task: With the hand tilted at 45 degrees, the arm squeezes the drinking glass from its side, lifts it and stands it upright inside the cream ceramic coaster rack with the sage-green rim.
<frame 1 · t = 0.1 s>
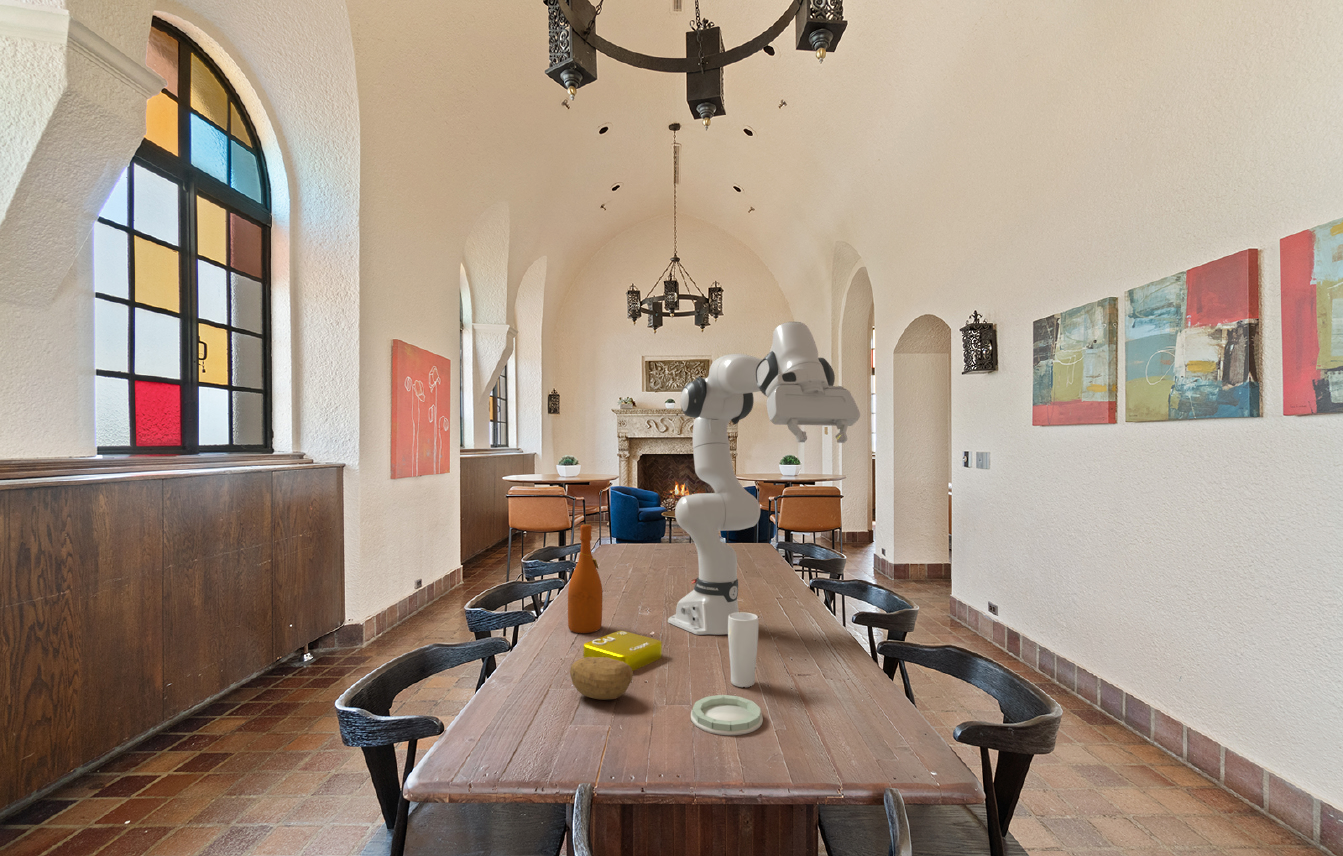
hand: (822, 441, 125), 54 cm above the table, tool tilted 30°, fingers open, 8 cm apart
element tile: (622, 660, 152), on the table
wine bottle: (584, 629, 175), on the table
drinking glass: (742, 684, 136), on the table
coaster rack: (726, 718, 119), on the table
potato: (600, 698, 128), on the table
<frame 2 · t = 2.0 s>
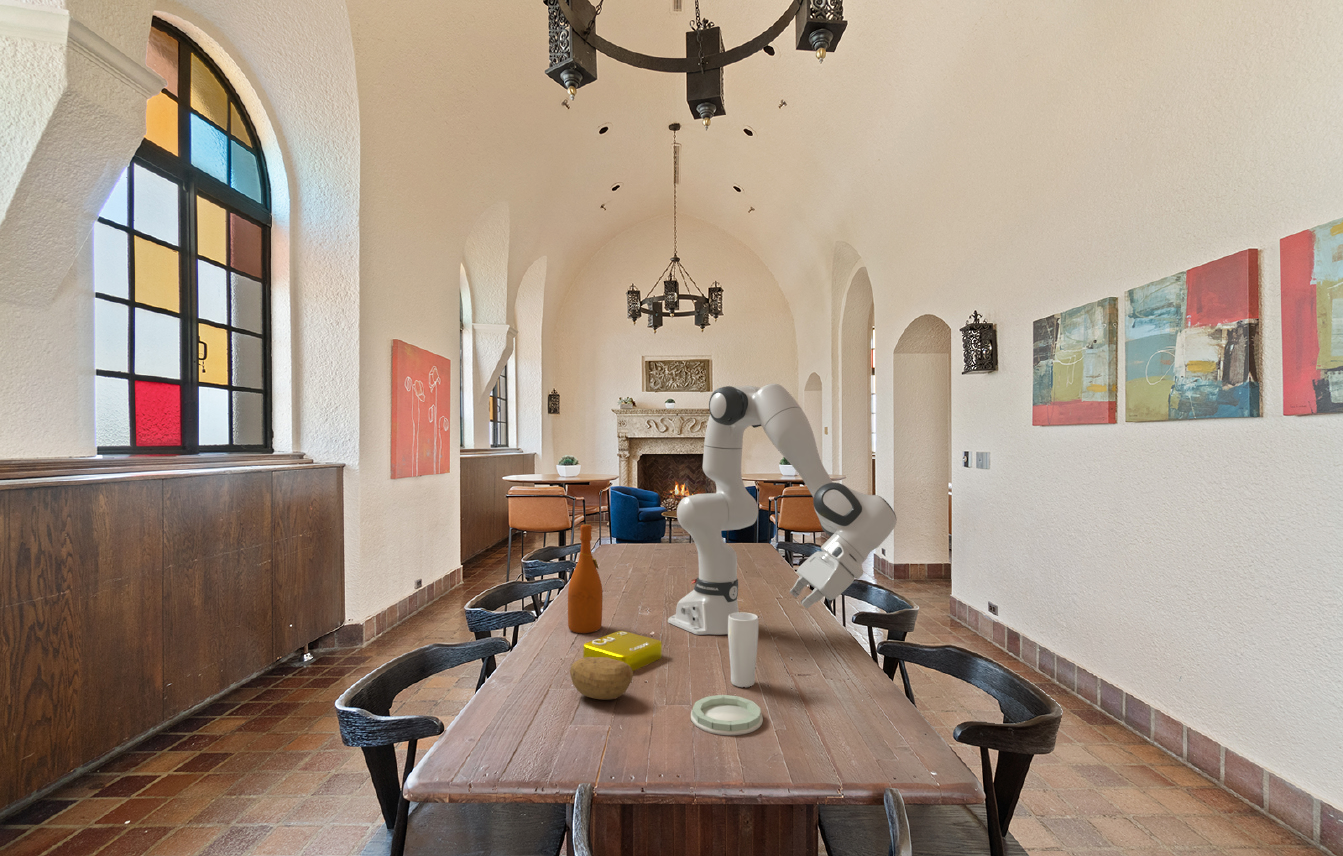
hand: (797, 600, 137), 18 cm above the table, tool tilted 45°, fingers open, 8 cm apart
nothing on the table moved.
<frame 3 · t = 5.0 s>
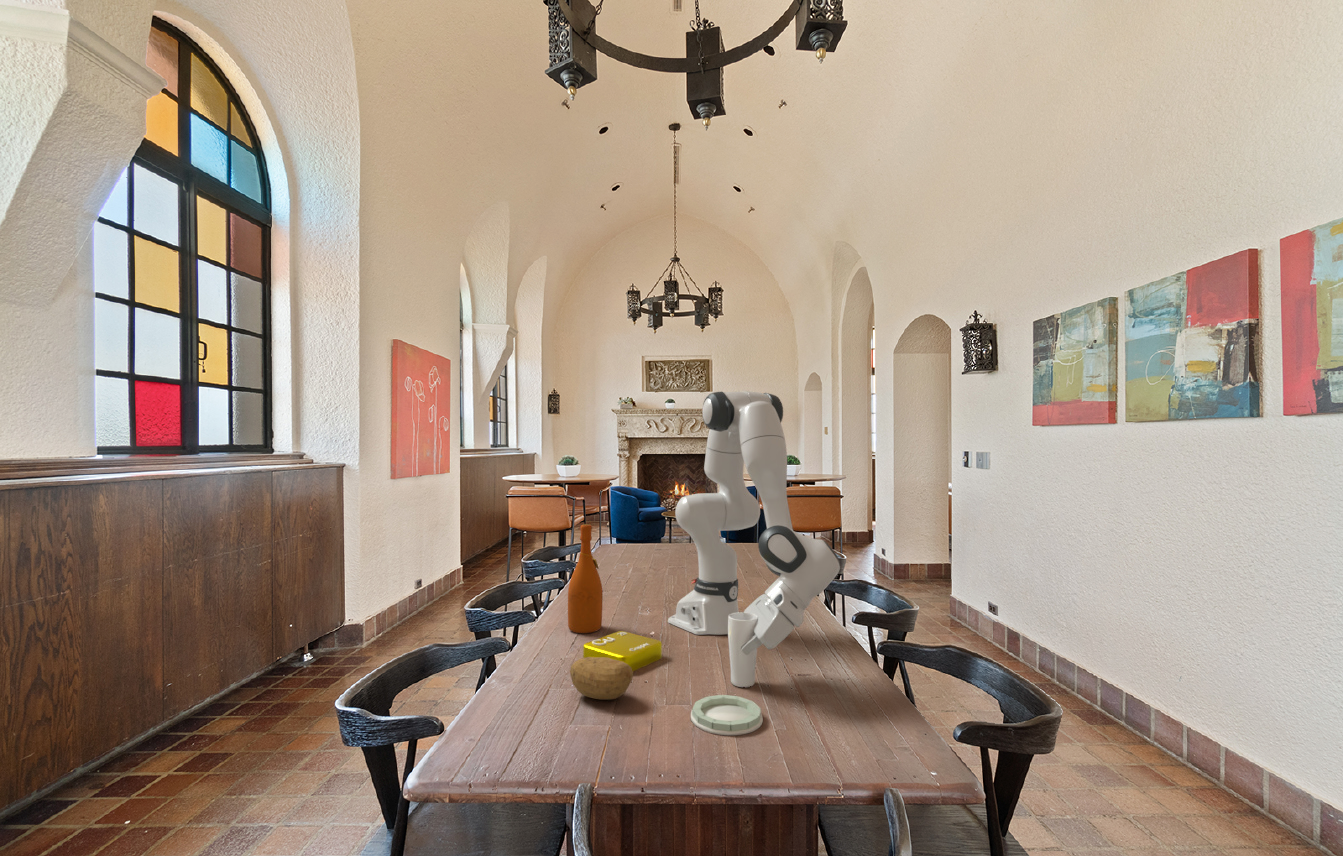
hand: (740, 645, 136), 8 cm above the table, tool tilted 45°, fingers closed on drinking glass, 6 cm apart
drinking glass: (742, 684, 136), on the table, touching gripper
everything else where it was.
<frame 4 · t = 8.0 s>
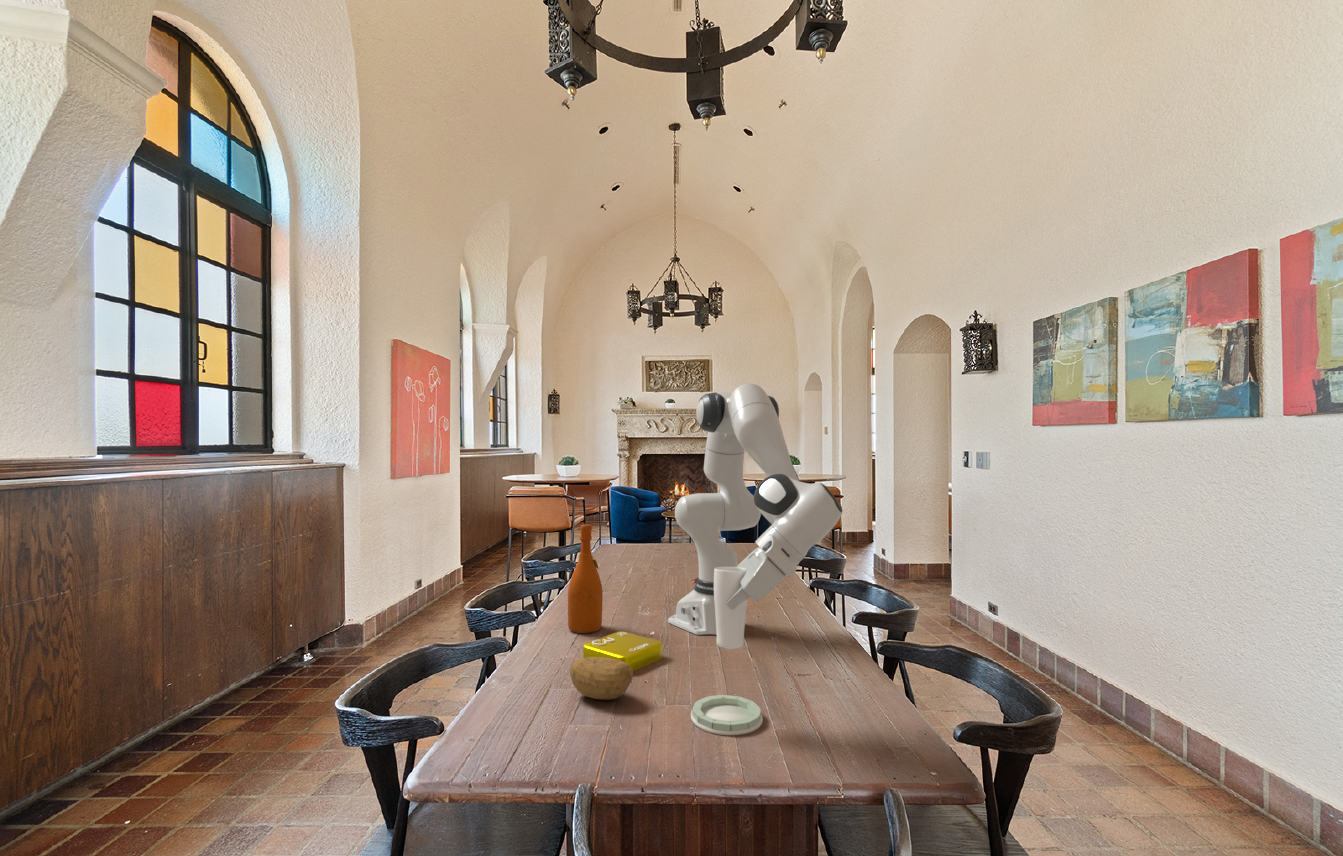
hand: (727, 601, 121), 22 cm above the table, tool tilted 45°, fingers closed on drinking glass, 6 cm apart
drinking glass: (730, 647, 120), point 14 cm above the table, touching gripper
everything else where it was.
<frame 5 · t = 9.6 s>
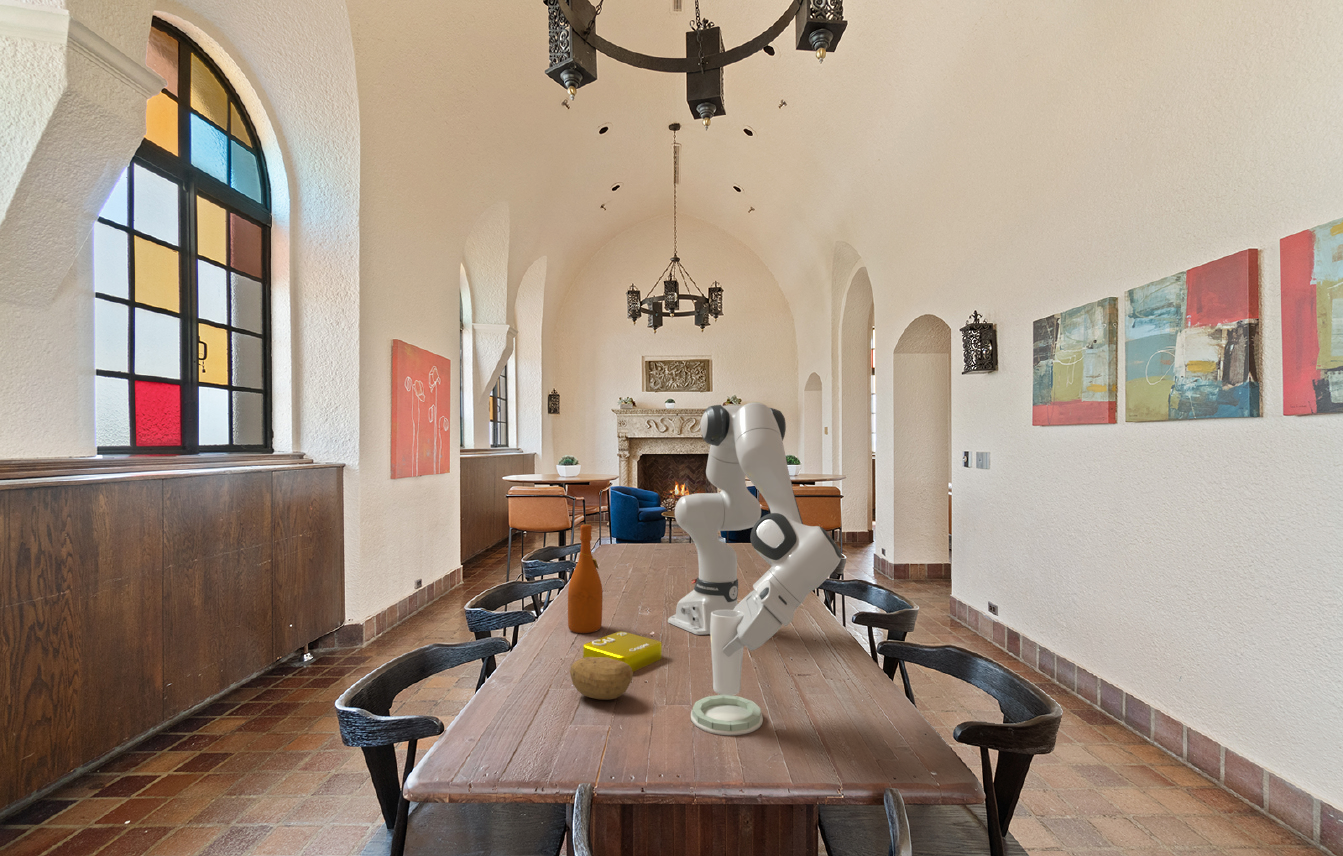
hand: (724, 646, 120), 14 cm above the table, tool tilted 45°, fingers closed on drinking glass, 6 cm apart
drinking glass: (726, 692, 119), point 5 cm above the table, touching gripper
everything else where it was.
when the fingers open (10 cm above the table, at t = 10.8 s): drinking glass drops 1 cm, resting on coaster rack.
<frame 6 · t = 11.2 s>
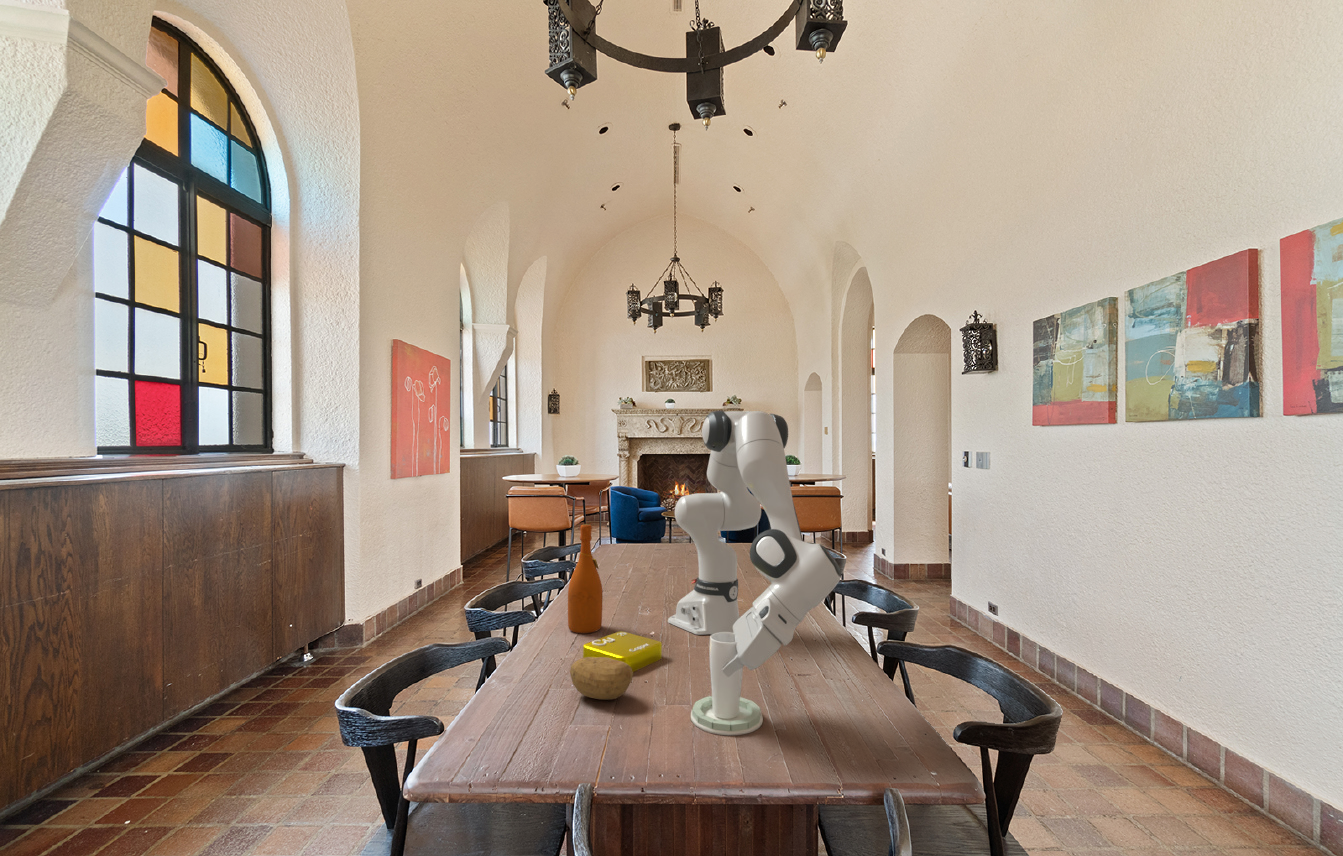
hand: (723, 663, 119), 11 cm above the table, tool tilted 45°, fingers open, 8 cm apart
drinking glass: (725, 715, 120), resting on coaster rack
everything else where it was.
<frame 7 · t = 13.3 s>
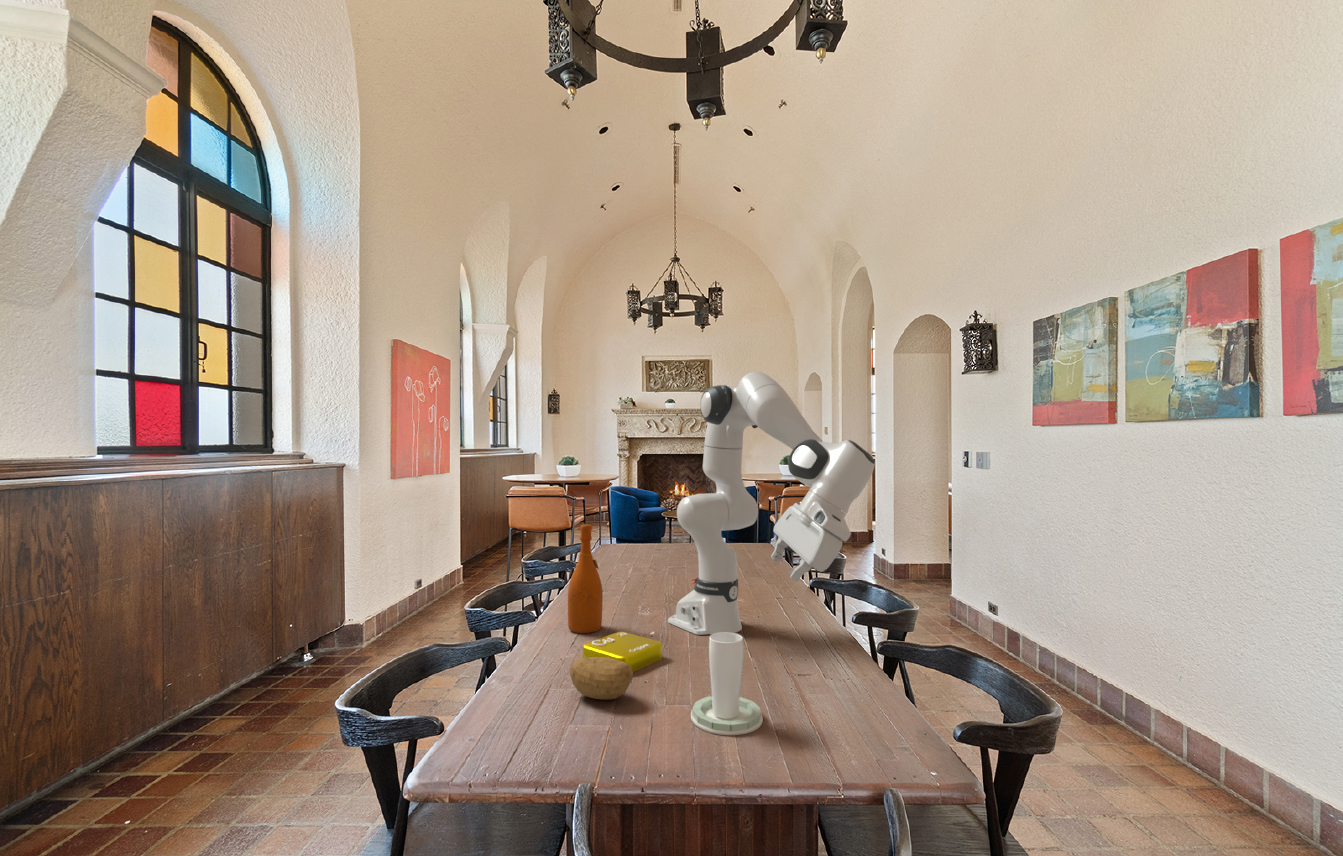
hand: (783, 569, 126), 28 cm above the table, tool tilted 35°, fingers open, 8 cm apart
nothing on the table moved.
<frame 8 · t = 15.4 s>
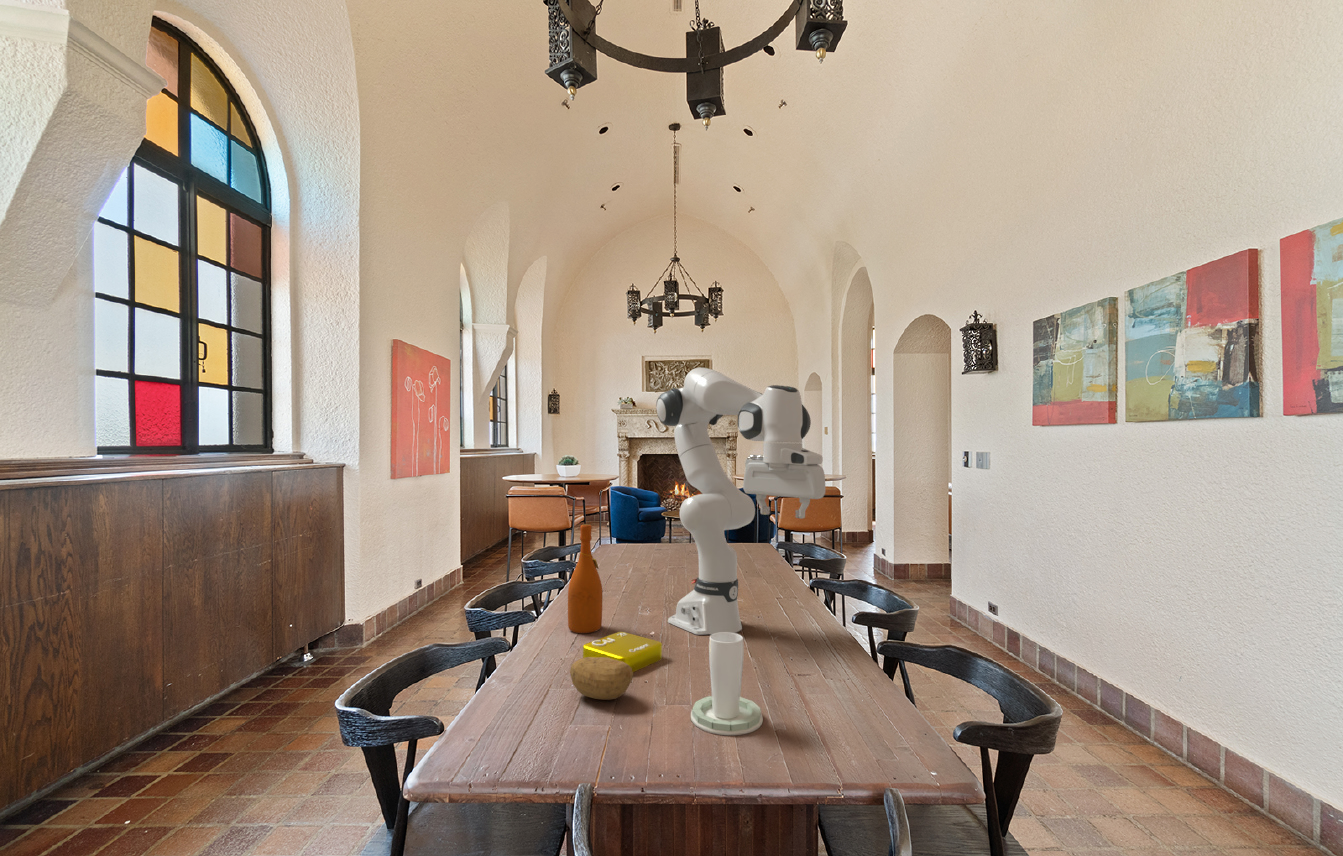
hand: (782, 516, 140), 37 cm above the table, tool pointing down, fingers open, 8 cm apart
nothing on the table moved.
at the end: drinking glass 0.4 cm from the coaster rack (horizontally); drinking glass tilted 0°; the gripper is holding nothing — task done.
